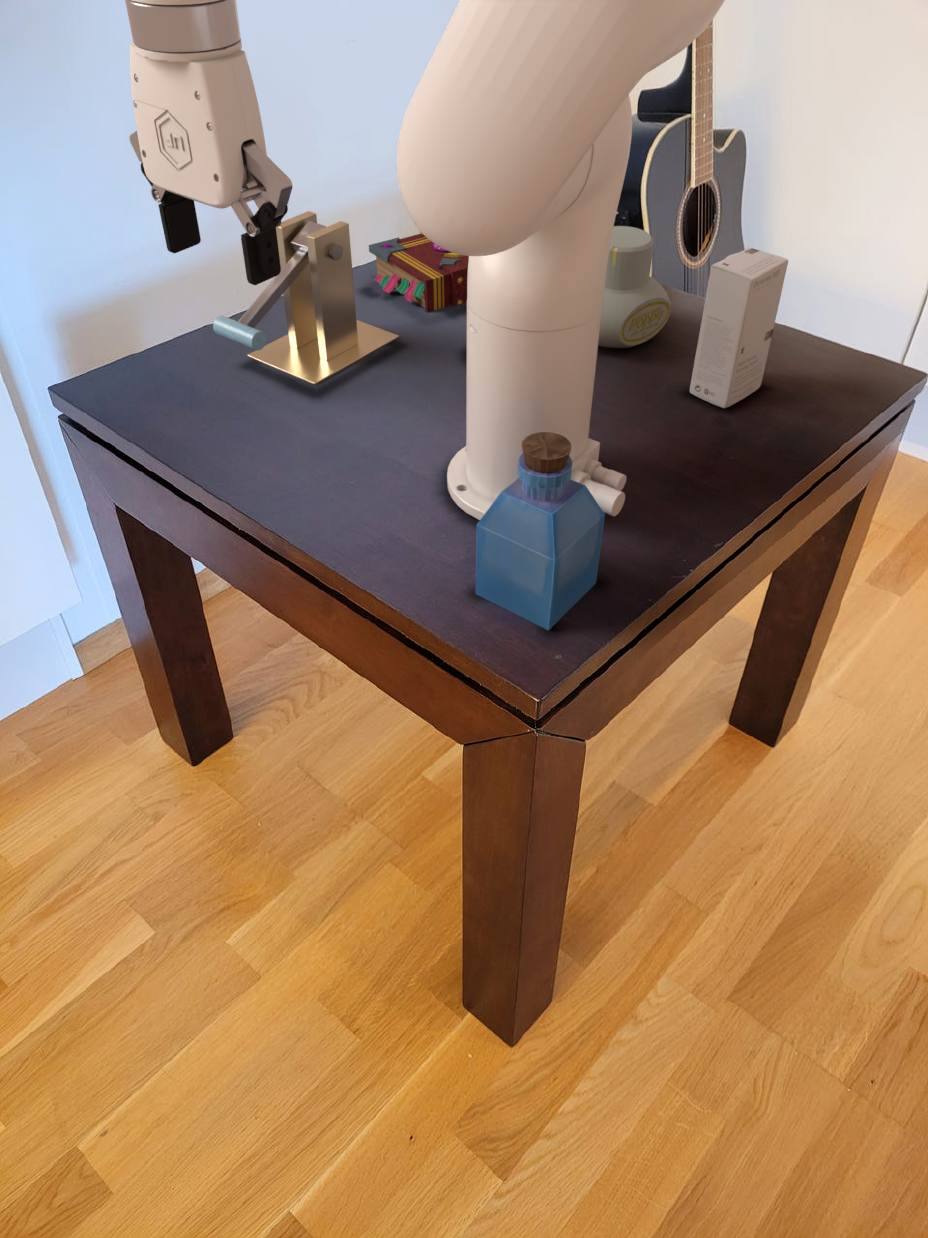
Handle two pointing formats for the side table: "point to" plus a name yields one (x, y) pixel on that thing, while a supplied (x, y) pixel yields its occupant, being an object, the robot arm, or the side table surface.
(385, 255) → the decorative book
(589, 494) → the perfume bottle
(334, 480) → the side table surface
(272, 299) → the tap lever
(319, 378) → the bracket
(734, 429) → the side table surface
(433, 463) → the side table surface
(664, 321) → the air freshener
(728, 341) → the cosmetic box
